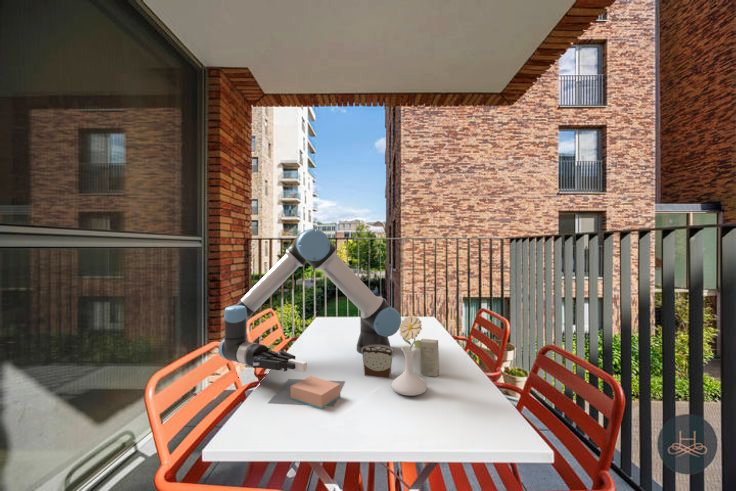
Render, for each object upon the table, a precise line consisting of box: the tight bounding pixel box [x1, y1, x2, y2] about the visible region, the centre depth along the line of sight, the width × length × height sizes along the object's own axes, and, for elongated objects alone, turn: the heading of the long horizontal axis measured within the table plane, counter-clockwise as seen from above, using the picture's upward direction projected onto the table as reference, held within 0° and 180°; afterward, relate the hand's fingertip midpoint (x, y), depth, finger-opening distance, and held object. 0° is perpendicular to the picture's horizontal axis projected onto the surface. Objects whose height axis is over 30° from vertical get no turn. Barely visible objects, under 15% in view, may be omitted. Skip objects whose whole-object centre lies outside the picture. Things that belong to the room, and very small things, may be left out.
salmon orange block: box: [290, 375, 341, 410], centre depth 102 cm, size 4×9×12 cm
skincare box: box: [418, 338, 440, 378], centre depth 122 cm, size 6×4×12 cm
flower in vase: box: [391, 314, 428, 397], centre depth 107 cm, size 13×11×25 cm
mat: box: [267, 378, 346, 408], centre depth 107 cm, size 20×18×1 cm
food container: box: [360, 345, 395, 380], centre depth 122 cm, size 12×6×10 cm, turn 71°
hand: (304, 367), depth 103 cm, fingers closed
